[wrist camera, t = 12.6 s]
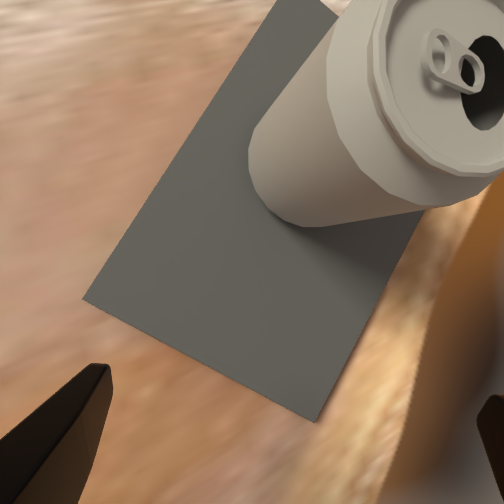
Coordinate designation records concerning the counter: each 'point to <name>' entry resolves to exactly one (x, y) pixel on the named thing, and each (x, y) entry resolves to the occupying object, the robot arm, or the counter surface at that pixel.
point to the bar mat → (250, 245)
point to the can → (387, 114)
